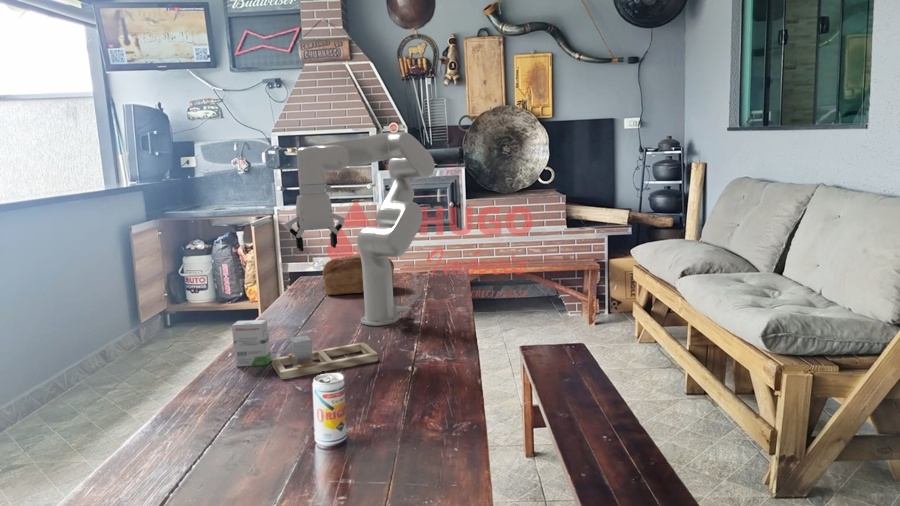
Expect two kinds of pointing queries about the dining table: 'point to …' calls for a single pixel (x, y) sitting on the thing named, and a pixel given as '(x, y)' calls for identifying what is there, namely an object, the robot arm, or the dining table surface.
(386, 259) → the robot arm
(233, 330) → the ink box
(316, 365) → the wooden frame
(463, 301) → the dining table surface
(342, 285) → the bread
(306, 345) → the grey rectangular block
